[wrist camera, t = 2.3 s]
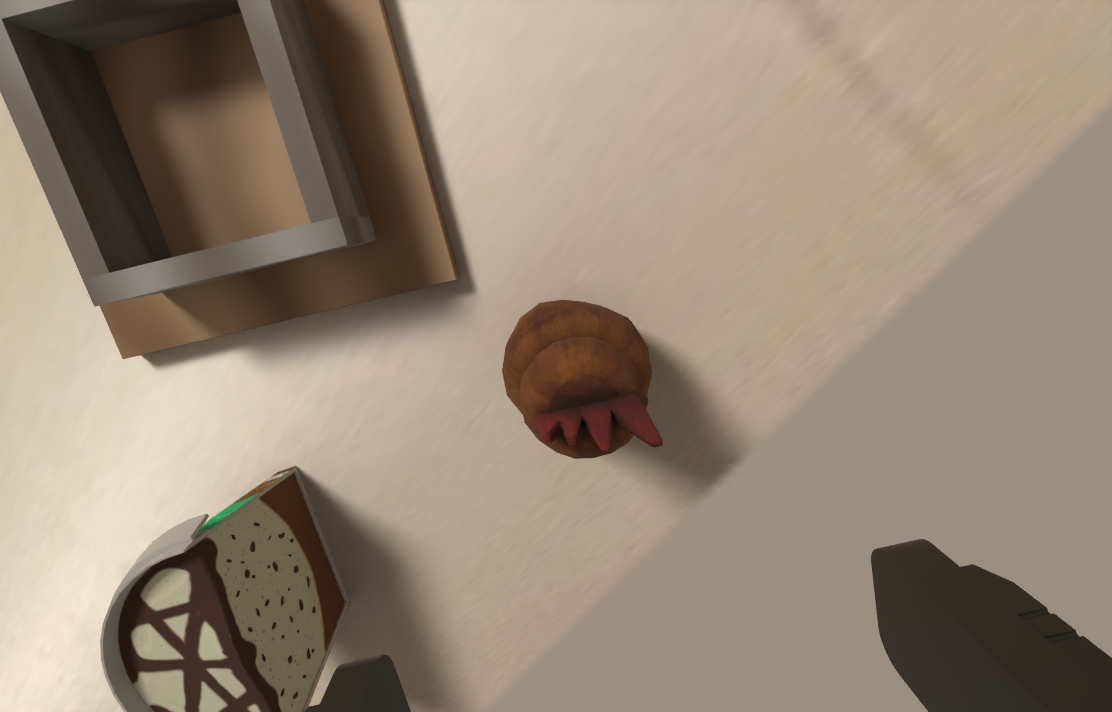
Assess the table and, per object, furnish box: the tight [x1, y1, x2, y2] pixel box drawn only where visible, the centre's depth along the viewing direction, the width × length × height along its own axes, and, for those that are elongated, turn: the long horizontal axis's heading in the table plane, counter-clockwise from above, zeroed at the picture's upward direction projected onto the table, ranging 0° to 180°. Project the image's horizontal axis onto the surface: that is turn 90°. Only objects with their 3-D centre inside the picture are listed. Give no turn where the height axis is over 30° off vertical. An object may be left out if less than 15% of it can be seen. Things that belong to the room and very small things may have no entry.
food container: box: [100, 466, 349, 712], centre depth 29 cm, size 12×6×10 cm, turn 14°
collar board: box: [0, 0, 459, 359], centre depth 26 cm, size 18×18×6 cm
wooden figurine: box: [502, 300, 662, 459], centre depth 24 cm, size 7×6×15 cm
